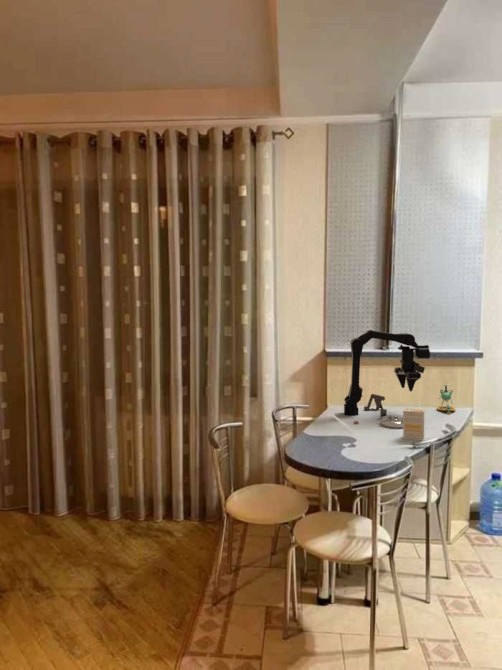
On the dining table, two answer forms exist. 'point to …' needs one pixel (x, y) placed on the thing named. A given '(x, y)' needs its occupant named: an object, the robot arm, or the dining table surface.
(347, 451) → the dining table surface
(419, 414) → the supplement box
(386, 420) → the gear crank handle
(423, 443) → the dining table surface
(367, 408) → the portable electronic device stand
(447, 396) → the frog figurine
